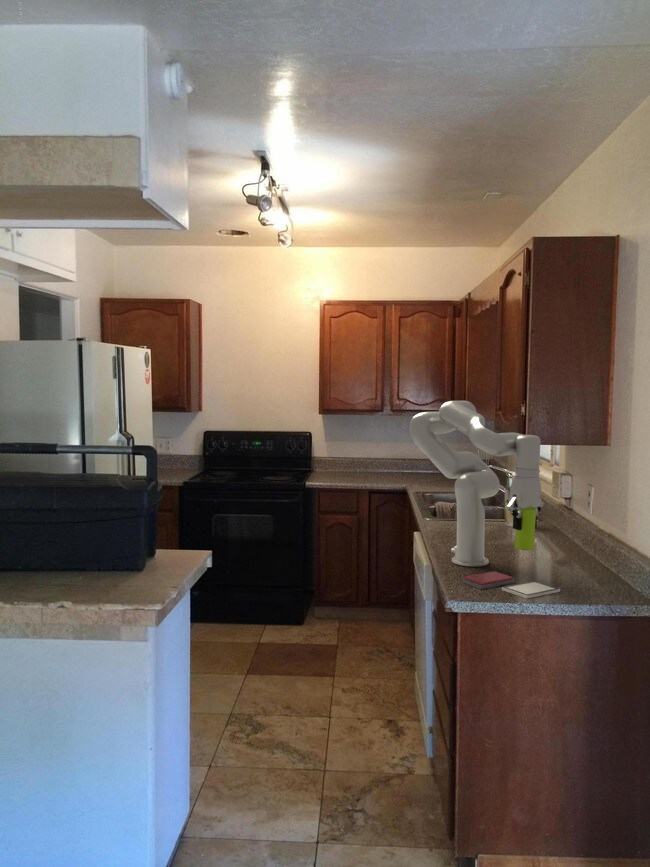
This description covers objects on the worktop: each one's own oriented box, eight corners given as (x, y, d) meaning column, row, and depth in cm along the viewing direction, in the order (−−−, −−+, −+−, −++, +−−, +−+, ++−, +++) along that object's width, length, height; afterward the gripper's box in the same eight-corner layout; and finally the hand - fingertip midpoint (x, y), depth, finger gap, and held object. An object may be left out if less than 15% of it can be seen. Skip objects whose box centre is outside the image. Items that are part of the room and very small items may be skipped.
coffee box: (529, 527, 307) (530, 490, 306) (518, 528, 304) (518, 491, 303) (514, 523, 315) (515, 488, 314) (503, 525, 312) (504, 489, 311)
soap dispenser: (529, 545, 232) (534, 485, 231) (535, 550, 225) (540, 489, 224) (512, 544, 232) (516, 484, 231) (516, 549, 225) (521, 488, 224)
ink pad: (461, 582, 221) (461, 576, 221) (494, 576, 228) (494, 570, 228) (481, 589, 213) (481, 583, 213) (515, 583, 220) (515, 577, 220)
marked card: (501, 589, 213) (501, 586, 213) (534, 583, 220) (534, 580, 220) (526, 598, 204) (526, 595, 204) (560, 591, 211) (560, 588, 211)
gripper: (537, 470, 234) (535, 523, 236) (498, 473, 226) (496, 528, 227) (554, 473, 228) (552, 528, 229) (515, 476, 219) (513, 533, 221)
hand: (524, 527), depth 228 cm, fingers closed on soap dispenser, 6 cm apart
